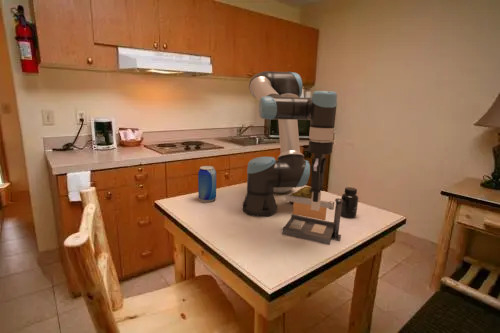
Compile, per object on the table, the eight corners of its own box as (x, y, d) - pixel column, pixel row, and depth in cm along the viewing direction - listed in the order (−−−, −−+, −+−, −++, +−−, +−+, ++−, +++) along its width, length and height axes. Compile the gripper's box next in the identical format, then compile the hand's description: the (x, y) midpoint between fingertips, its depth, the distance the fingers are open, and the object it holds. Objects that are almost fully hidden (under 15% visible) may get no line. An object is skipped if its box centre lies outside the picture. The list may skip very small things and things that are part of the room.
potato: (287, 198, 140) (288, 183, 139) (313, 200, 139) (315, 185, 137) (287, 204, 132) (288, 188, 131) (315, 206, 131) (316, 190, 129)
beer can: (219, 199, 137) (219, 167, 133) (208, 204, 130) (208, 170, 126) (206, 195, 142) (206, 164, 138) (194, 200, 135) (194, 167, 131)
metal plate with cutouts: (282, 234, 104) (282, 226, 103) (291, 221, 115) (291, 214, 114) (329, 244, 97) (330, 236, 96) (334, 230, 108) (335, 222, 107)
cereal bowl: (280, 184, 164) (281, 172, 162) (301, 192, 151) (302, 179, 149) (257, 189, 154) (257, 176, 152) (277, 198, 141) (278, 184, 139)
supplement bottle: (357, 219, 119) (360, 192, 116) (340, 217, 120) (343, 190, 117) (354, 212, 125) (358, 187, 122) (338, 211, 127) (341, 185, 124)
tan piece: (284, 213, 107) (285, 195, 106) (286, 211, 109) (287, 193, 107) (332, 222, 100) (334, 203, 99) (332, 220, 102) (334, 201, 100)
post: (329, 238, 101) (333, 200, 98) (330, 234, 104) (334, 197, 101) (339, 241, 100) (344, 202, 96) (340, 236, 103) (345, 199, 100)
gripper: (329, 144, 84) (322, 218, 89) (335, 139, 95) (329, 205, 101) (304, 142, 87) (299, 214, 92) (313, 137, 98) (308, 201, 104)
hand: (315, 209), depth 96 cm, fingers closed
